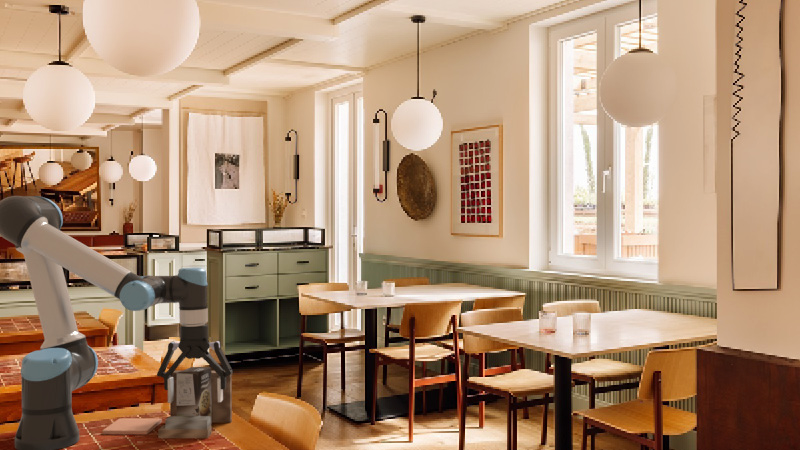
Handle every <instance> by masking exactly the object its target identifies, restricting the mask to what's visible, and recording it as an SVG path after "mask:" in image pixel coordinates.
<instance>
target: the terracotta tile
mask: <svg viewBox="0 0 800 450" xmlns="http://www.w3.org/2000/svg"><path fill="white" fill-rule="evenodd" d="M161 423H163V419H162V418H159V417H158V418H155V417H154V418H152V417H151V418H147V417H146V418H136V417H135V418H131V417H129V418H127V417H126V418H122V417H121V418H120V417H119V418H118V419H117V420H115V421H114V422H112V423H111V424H109V425H108V426H107V427H105V428H104V429H103V430H102V435H149V433H151V432H152V431H154V429H155V428H157V427H158V426H159V425H160V424H161Z"/></svg>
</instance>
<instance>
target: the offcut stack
mask: <svg viewBox="0 0 800 450" xmlns="http://www.w3.org/2000/svg"><path fill="white" fill-rule="evenodd" d="M164 424H165V425H164ZM164 424H163V425H161V426H160V427H159V428H158V429H157V432H158V433H157V434H158V436H157V437H158V438H157V439H208V438H209V437H210V436H211V435H212V434H211V433H212V431H213V429H212V424H211V418H210V416H168V417H167V418H165V419H164Z"/></svg>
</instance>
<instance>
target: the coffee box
mask: <svg viewBox="0 0 800 450" xmlns="http://www.w3.org/2000/svg"><path fill="white" fill-rule="evenodd" d="M211 371H212V367H211V366H210V367H208V366H203V367H202V366H196V367H195V366H190V367H189V368H185V369H183V371H181V372H178V373H177V416H210V418H211V425H212V423H213V422H212V399H211Z"/></svg>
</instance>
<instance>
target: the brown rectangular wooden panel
mask: <svg viewBox="0 0 800 450" xmlns="http://www.w3.org/2000/svg"><path fill="white" fill-rule="evenodd" d="M183 370H184V369H183ZM183 370H180V369H179V370H175V371H174V372H173V373H172V375H171V376H170V377H173V382H174V401H173V402H171V403H169V404H170V405H169V406H170V407H169V410H170V411H169V412H170V413H169V414H170V416H177V373H178V372H181V371H183ZM219 377H220V376H219V375H218V374H217V373H216V372H215V371H214V370H211V399H212V423H232V422H233V411H232V410H233V408H232V406H233V405H232V404H233V402H232V401H233V395H232V394H233V393H232V392H233V390H232V388H233V387H232V386H233V383H232V382H233V381H232V377H233V373H232V374H231V375H229V376H227V377H226V388H225V389H223V400H222V401H221V402H218V389H217V378H219Z"/></svg>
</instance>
